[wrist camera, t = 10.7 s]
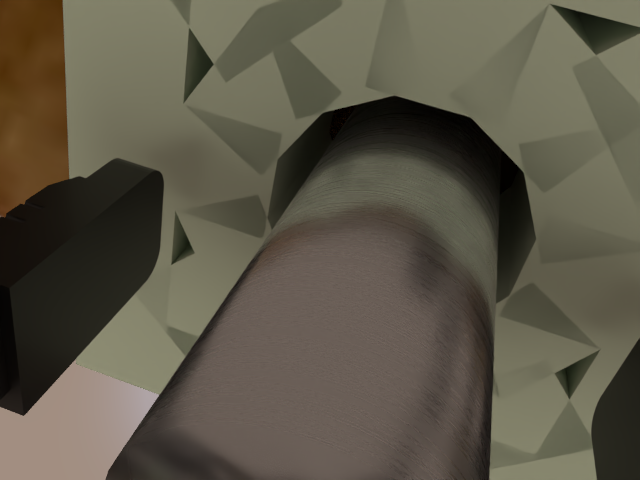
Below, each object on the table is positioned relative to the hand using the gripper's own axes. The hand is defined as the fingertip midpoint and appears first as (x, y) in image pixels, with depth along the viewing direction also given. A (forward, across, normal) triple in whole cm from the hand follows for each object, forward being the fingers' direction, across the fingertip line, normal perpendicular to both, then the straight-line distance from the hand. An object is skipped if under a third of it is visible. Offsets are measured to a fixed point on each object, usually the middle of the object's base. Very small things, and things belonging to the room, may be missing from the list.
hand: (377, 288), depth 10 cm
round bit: (+7, 0, 0) cm, 7 cm away
